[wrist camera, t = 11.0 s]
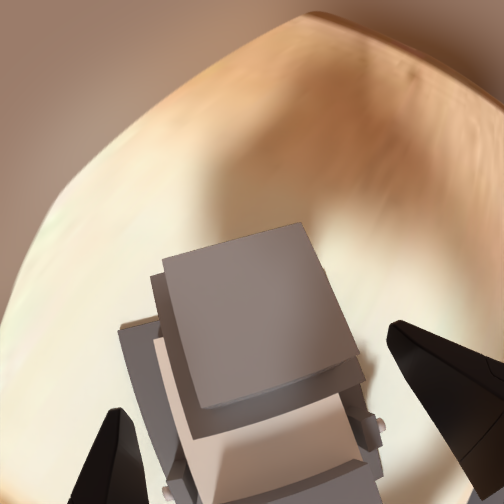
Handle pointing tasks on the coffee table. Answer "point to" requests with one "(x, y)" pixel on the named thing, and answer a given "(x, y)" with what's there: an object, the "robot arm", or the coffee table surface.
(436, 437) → the coffee table surface
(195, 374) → the stone pillar
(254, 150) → the coffee table surface
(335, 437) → the trapdoor flap
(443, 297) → the coffee table surface
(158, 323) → the stand
